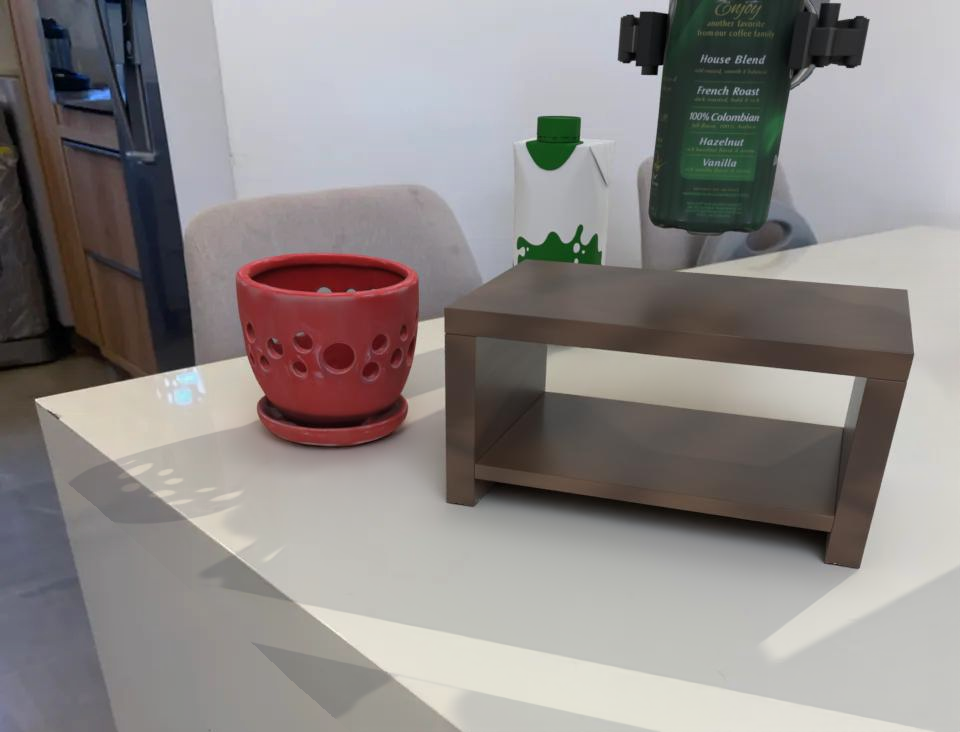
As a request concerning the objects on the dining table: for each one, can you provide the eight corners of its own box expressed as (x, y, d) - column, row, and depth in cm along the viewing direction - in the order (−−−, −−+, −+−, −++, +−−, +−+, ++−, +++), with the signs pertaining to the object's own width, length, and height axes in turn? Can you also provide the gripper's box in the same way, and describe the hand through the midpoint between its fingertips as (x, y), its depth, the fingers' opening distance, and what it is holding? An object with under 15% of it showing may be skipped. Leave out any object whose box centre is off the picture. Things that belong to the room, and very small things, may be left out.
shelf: (863, 470, 68) (907, 289, 61) (859, 568, 55) (914, 353, 48) (519, 425, 75) (525, 258, 68) (445, 502, 62) (443, 307, 56)
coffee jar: (771, 241, 58) (833, -146, 48) (642, 236, 60) (677, -142, 50) (765, 217, 66) (817, -119, 56) (651, 213, 68) (683, -116, 58)
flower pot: (228, 454, 69) (204, 283, 63) (284, 398, 80) (268, 247, 74) (403, 465, 68) (397, 291, 61) (435, 406, 79) (433, 254, 72)
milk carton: (500, 338, 97) (504, 116, 86) (533, 319, 104) (541, 111, 93) (581, 349, 94) (596, 120, 83) (609, 328, 101) (626, 114, 90)
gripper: (897, 102, 71) (898, 121, 53) (624, 95, 77) (541, 109, 59) (923, -20, 67) (934, -45, 49) (633, -18, 73) (547, -39, 55)
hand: (719, 40), depth 54 cm, fingers closed on coffee jar, 8 cm apart
